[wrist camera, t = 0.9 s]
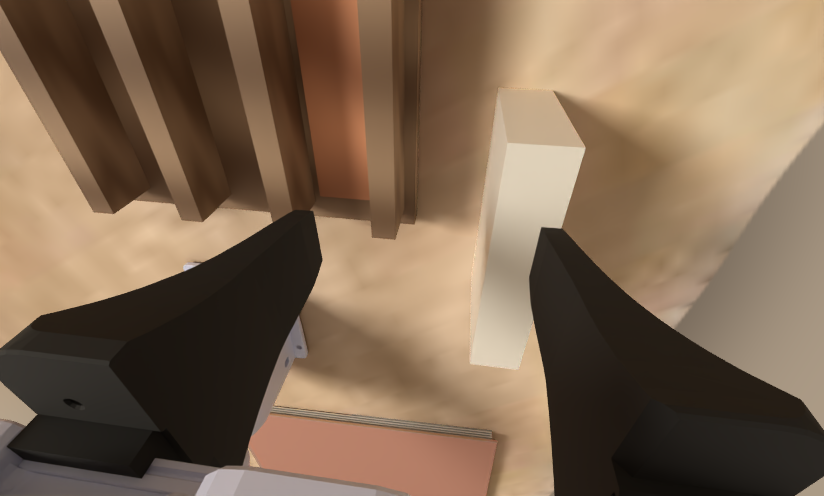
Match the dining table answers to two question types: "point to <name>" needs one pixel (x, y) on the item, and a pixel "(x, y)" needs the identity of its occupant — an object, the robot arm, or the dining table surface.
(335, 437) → the notebook
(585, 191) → the dining table surface
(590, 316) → the robot arm
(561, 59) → the dining table surface
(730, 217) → the dining table surface
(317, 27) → the rack
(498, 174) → the block
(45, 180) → the dining table surface
